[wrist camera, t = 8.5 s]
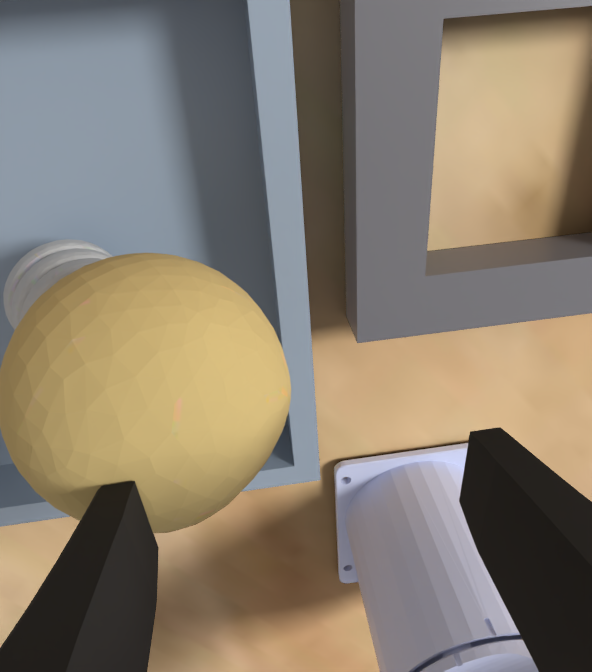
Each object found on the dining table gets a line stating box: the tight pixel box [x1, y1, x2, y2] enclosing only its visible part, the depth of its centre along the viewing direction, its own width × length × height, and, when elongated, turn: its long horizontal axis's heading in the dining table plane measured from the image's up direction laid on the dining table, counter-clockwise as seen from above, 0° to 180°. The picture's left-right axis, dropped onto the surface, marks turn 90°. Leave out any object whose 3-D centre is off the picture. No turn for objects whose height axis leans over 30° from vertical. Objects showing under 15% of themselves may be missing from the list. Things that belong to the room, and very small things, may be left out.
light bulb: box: [0, 239, 291, 533], centre depth 14 cm, size 6×6×10 cm
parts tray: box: [0, 0, 320, 526], centre depth 17 cm, size 18×16×3 cm
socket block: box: [340, 0, 592, 343], centre depth 17 cm, size 12×12×2 cm
